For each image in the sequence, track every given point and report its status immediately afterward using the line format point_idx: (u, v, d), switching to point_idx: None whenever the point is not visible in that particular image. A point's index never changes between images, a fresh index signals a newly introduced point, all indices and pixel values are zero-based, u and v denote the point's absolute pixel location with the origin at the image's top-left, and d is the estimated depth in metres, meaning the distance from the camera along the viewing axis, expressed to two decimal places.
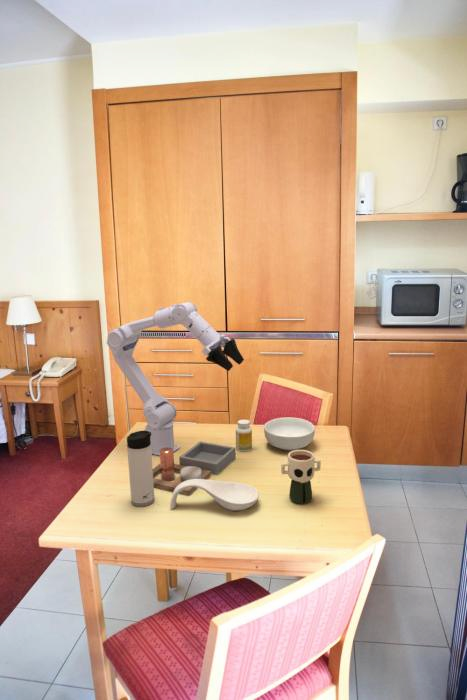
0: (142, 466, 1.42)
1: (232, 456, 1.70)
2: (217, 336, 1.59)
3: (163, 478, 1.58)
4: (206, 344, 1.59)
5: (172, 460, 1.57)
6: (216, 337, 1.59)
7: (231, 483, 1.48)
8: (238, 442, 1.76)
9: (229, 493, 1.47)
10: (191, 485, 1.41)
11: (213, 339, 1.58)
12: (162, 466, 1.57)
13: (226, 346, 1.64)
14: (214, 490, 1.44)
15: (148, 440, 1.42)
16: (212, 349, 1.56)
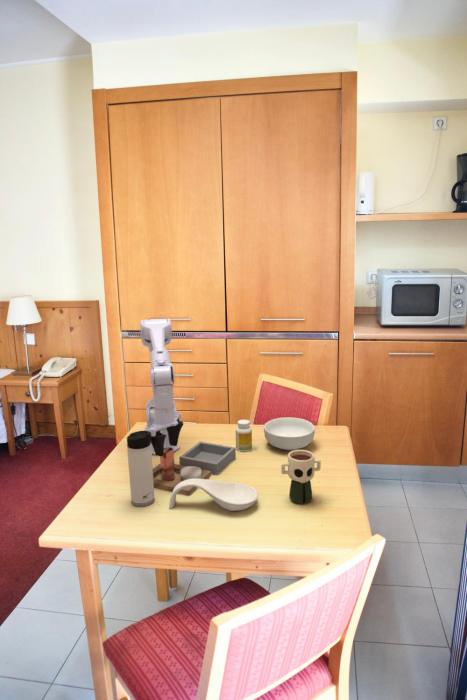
0: (142, 466, 1.42)
1: (232, 456, 1.70)
2: (171, 420, 1.53)
3: (163, 478, 1.58)
4: (157, 419, 1.53)
5: (172, 460, 1.57)
6: (169, 421, 1.53)
7: (231, 483, 1.48)
8: (238, 442, 1.76)
9: (228, 493, 1.47)
10: (190, 484, 1.42)
11: (165, 422, 1.53)
12: (162, 466, 1.57)
13: None
14: (213, 490, 1.44)
15: (148, 440, 1.42)
16: (157, 433, 1.51)
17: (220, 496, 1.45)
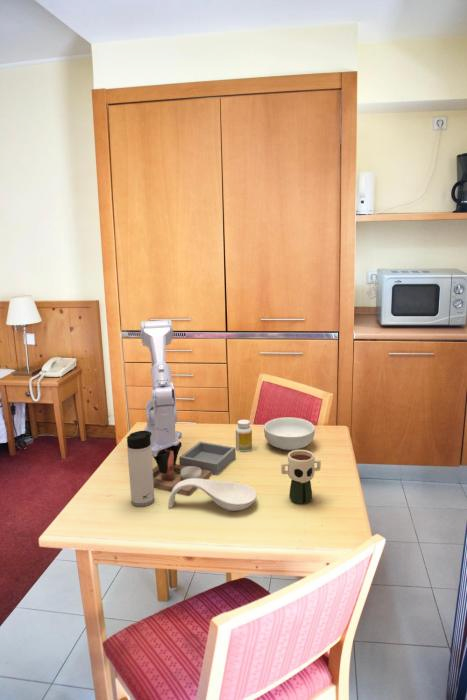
0: (142, 466, 1.42)
1: (232, 456, 1.70)
2: (172, 440, 1.55)
3: (163, 478, 1.58)
4: (158, 439, 1.55)
5: (172, 460, 1.57)
6: (170, 441, 1.55)
7: (230, 483, 1.48)
8: (238, 442, 1.76)
9: (227, 493, 1.47)
10: (189, 484, 1.42)
11: (167, 442, 1.54)
12: None
13: None
14: (212, 490, 1.45)
15: (148, 440, 1.42)
16: (162, 450, 1.54)
17: (219, 496, 1.45)
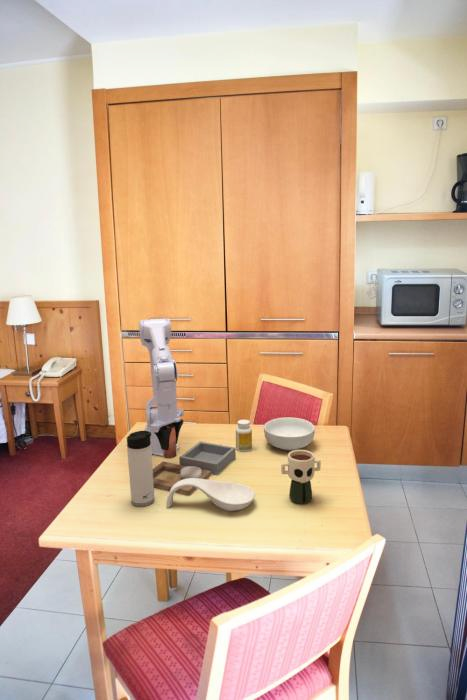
0: (142, 466, 1.42)
1: (232, 456, 1.70)
2: (174, 417, 1.54)
3: (165, 455, 1.57)
4: (160, 415, 1.54)
5: (174, 437, 1.56)
6: (172, 417, 1.54)
7: (228, 483, 1.48)
8: (238, 442, 1.76)
9: (226, 493, 1.47)
10: (187, 484, 1.42)
11: (168, 418, 1.53)
12: None
13: None
14: (210, 490, 1.45)
15: (148, 440, 1.42)
16: (163, 427, 1.53)
17: (217, 496, 1.45)
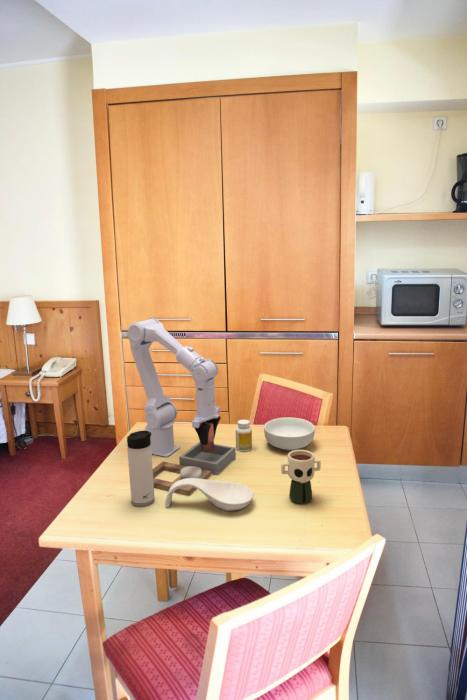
0: (142, 466, 1.42)
1: (232, 456, 1.70)
2: (213, 413, 1.64)
3: (204, 449, 1.67)
4: (199, 412, 1.63)
5: (212, 432, 1.66)
6: (211, 414, 1.63)
7: (227, 483, 1.48)
8: (238, 442, 1.76)
9: (224, 493, 1.47)
10: (186, 484, 1.42)
11: (208, 414, 1.63)
12: None
13: (210, 418, 1.68)
14: (209, 490, 1.45)
15: (148, 440, 1.42)
16: (203, 423, 1.62)
17: (216, 496, 1.45)
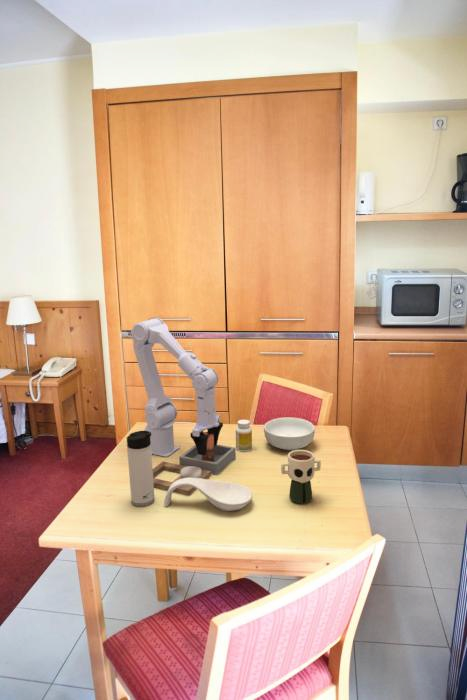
0: (142, 466, 1.42)
1: (232, 456, 1.70)
2: (213, 422, 1.64)
3: None
4: (200, 420, 1.64)
5: (212, 443, 1.67)
6: (211, 422, 1.64)
7: (226, 483, 1.48)
8: (238, 442, 1.76)
9: (224, 493, 1.47)
10: (184, 483, 1.42)
11: (208, 423, 1.63)
12: None
13: None
14: (208, 489, 1.45)
15: (148, 440, 1.42)
16: (201, 433, 1.62)
17: (215, 496, 1.45)
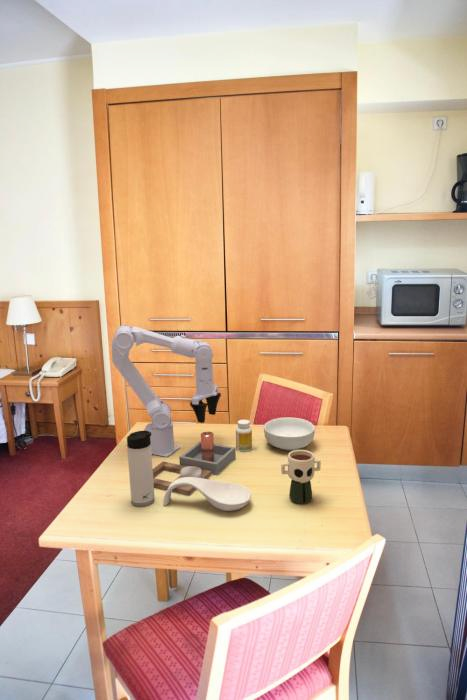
0: (142, 466, 1.42)
1: (232, 456, 1.70)
2: (211, 391, 1.74)
3: None
4: (199, 390, 1.74)
5: (212, 443, 1.67)
6: (210, 392, 1.74)
7: (226, 483, 1.48)
8: (238, 442, 1.76)
9: (223, 493, 1.47)
10: (183, 483, 1.43)
11: (206, 392, 1.73)
12: (203, 449, 1.67)
13: (211, 395, 1.80)
14: (207, 489, 1.45)
15: (148, 440, 1.42)
16: (200, 401, 1.72)
17: (214, 495, 1.45)
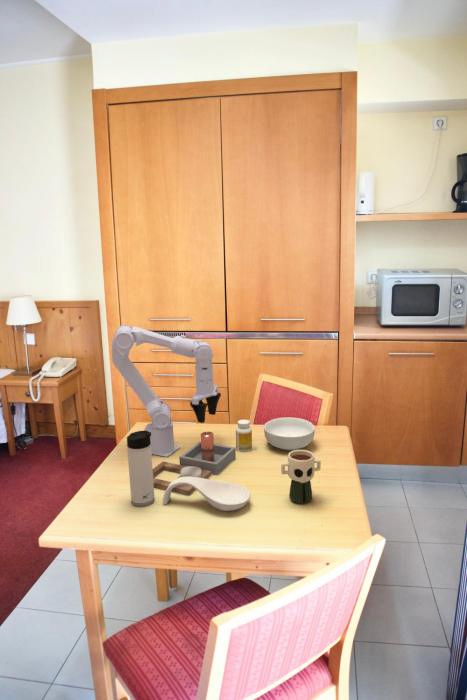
0: (142, 466, 1.42)
1: (232, 456, 1.70)
2: (211, 391, 1.74)
3: None
4: (199, 390, 1.74)
5: (212, 443, 1.67)
6: (210, 392, 1.74)
7: (226, 483, 1.48)
8: (238, 442, 1.76)
9: (222, 493, 1.47)
10: (183, 482, 1.43)
11: (206, 392, 1.73)
12: (203, 449, 1.67)
13: (211, 395, 1.80)
14: (206, 489, 1.45)
15: (148, 440, 1.42)
16: (200, 401, 1.72)
17: (213, 495, 1.45)
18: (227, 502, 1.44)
